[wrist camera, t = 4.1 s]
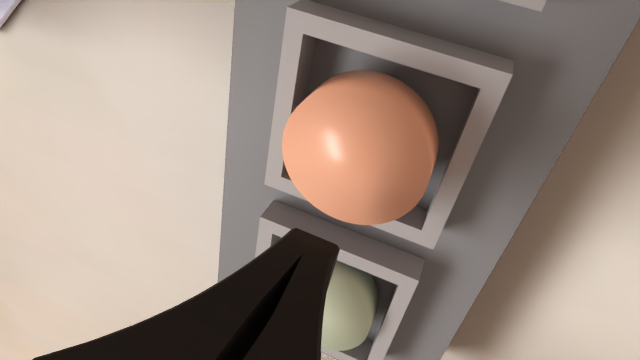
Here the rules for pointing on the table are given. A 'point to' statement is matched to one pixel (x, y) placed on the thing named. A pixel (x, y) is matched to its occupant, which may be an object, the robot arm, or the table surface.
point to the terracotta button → (361, 147)
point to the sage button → (348, 308)
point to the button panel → (453, 130)
